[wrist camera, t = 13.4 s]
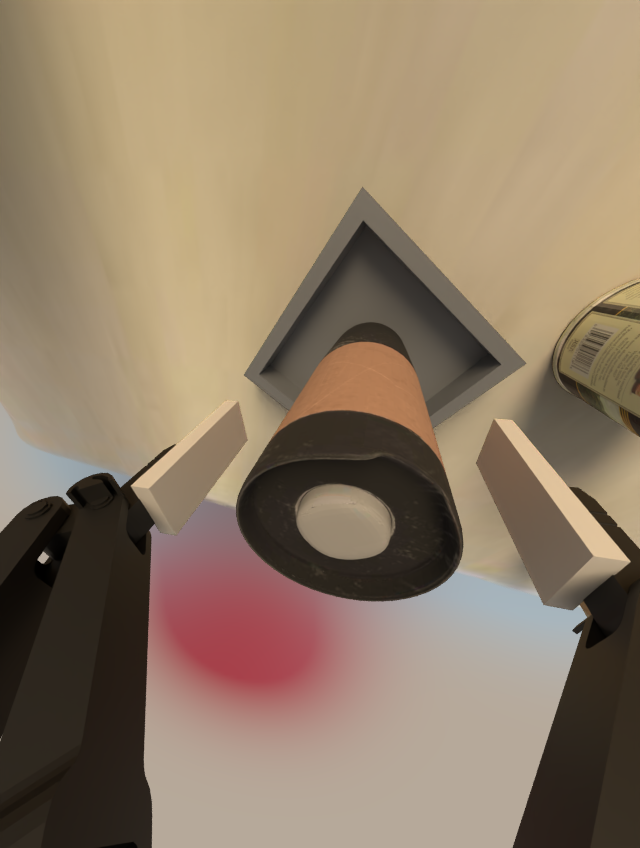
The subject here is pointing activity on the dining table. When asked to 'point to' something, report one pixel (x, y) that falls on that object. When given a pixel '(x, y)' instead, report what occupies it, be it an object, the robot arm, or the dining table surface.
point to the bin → (384, 316)
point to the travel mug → (355, 480)
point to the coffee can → (605, 355)
